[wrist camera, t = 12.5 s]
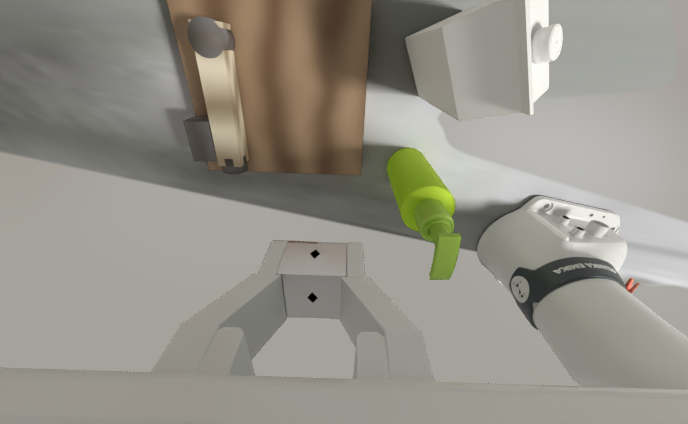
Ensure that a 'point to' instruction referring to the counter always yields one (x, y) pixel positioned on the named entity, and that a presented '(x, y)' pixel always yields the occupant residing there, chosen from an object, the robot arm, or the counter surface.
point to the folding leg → (220, 90)
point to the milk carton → (486, 59)
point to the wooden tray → (287, 81)
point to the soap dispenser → (425, 207)
